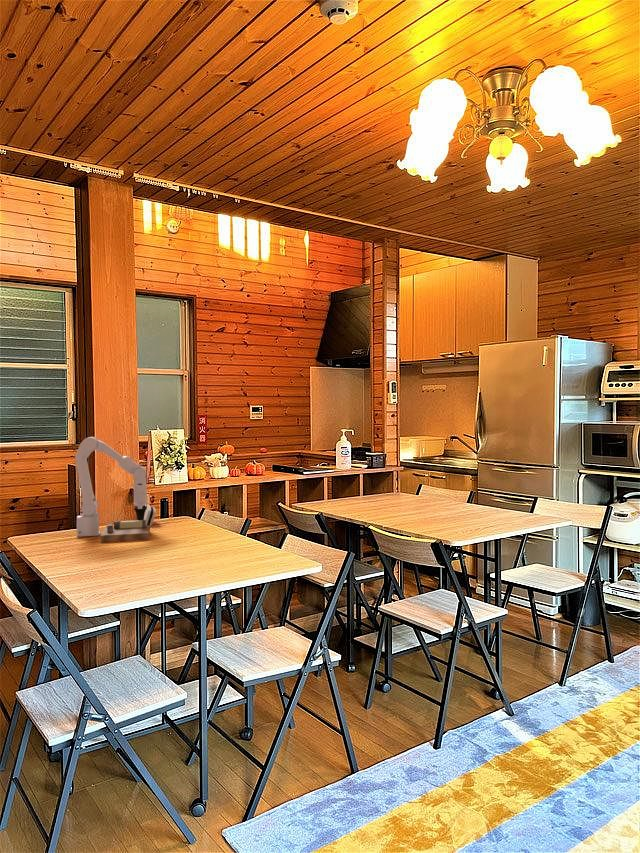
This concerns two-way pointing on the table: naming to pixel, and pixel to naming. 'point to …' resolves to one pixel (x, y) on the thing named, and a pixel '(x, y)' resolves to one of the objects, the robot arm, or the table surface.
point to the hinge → (149, 515)
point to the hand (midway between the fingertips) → (140, 522)
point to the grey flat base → (124, 534)
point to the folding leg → (129, 524)
